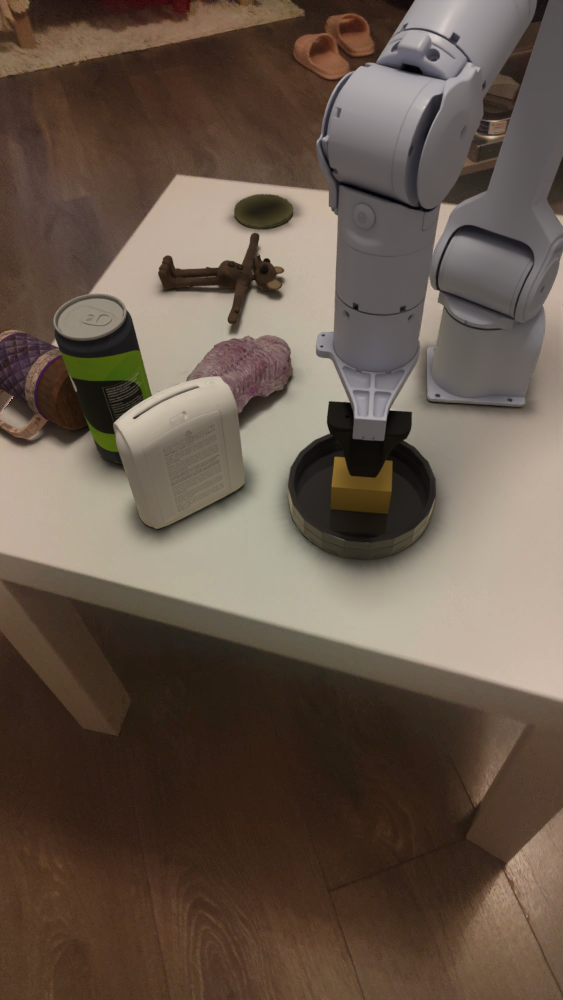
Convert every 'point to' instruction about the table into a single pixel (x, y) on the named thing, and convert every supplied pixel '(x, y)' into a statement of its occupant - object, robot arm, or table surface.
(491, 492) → the table surface
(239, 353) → the fossil
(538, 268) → the robot arm
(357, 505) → the cheese
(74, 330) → the beverage can
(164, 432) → the photo printer
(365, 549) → the pan
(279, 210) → the olive green flat disc
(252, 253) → the bear figurine
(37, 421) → the mug
